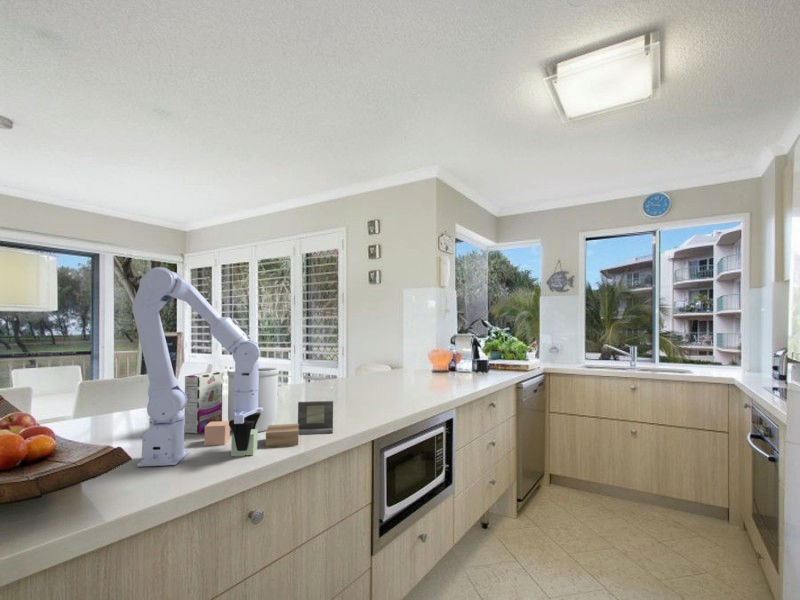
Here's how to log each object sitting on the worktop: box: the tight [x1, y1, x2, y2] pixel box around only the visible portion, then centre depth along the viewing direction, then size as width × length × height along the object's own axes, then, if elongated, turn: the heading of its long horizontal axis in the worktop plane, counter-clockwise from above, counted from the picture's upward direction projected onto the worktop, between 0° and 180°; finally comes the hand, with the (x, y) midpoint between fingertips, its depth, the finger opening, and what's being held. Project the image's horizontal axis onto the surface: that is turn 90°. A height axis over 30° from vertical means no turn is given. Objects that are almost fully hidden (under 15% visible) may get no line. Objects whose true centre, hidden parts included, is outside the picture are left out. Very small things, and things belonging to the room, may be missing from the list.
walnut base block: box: [265, 423, 299, 448], centre depth 109 cm, size 8×8×4 cm
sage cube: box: [230, 429, 259, 457], centre depth 100 cm, size 5×5×5 cm
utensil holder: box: [226, 366, 280, 433], centre depth 125 cm, size 15×15×18 cm
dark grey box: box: [297, 400, 334, 435], centre depth 121 cm, size 6×10×8 cm, turn 99°
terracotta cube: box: [203, 420, 231, 447], centre depth 109 cm, size 5×5×5 cm
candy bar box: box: [184, 370, 224, 435], centre depth 123 cm, size 11×5×16 cm, turn 168°
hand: (244, 446), depth 100 cm, fingers closed on sage cube, 5 cm apart
